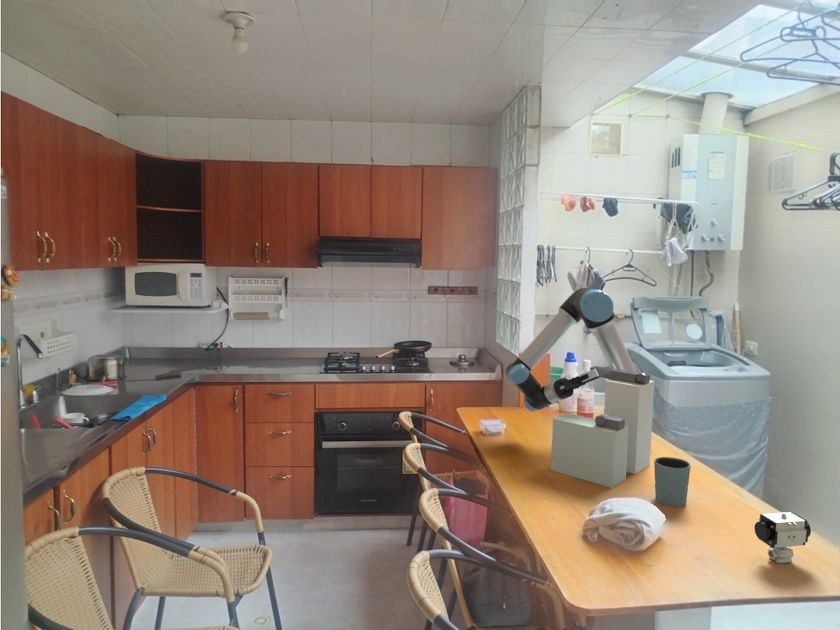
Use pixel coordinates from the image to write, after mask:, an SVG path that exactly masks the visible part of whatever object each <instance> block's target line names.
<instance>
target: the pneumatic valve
mask: <svg viewBox="0 0 840 630" xmlns="http://www.w3.org/2000/svg"><path fill="white" fill-rule="evenodd" d="M754 533H755V535H756V537H757V538H758V540H760V541H761V542H763V543H764V544H766V545H767V546H769V549H768V550H767V556H768V557H769V558H770V560H773V561H775V562H776V563H777V564H790V563H792V561H793V559H792V558H793V557H794V550H793V549H792V547H798V546H799V547H800V546H806V543H808V541H809V537H810V536H811V533H812V530H811V526H810V524H809V522H808V520H807V519H805V518H803V517H801V516H800V515H799V514H797V513H795V512H777V513H762V514H759V519H758V521H757V522H755V524H754Z"/></svg>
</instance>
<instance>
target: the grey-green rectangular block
mask: <svg viewBox="0 0 840 630" xmlns="http://www.w3.org/2000/svg"><path fill="white" fill-rule="evenodd" d="M628 427H629V426H625V419H623V418H618V417H613V416H611V415H609V414H604V413H602V414H601V413H600V414H598V415H596V416H595V418H593V417H588V416H584V415H579V414H574V413H570V412H566V413H564V414H562V415H558V416H555V417H553V418H552V432H551V433H552V434H551V436H552V437H551V459H550V461H551V462H550V465H551V466H550V470H551V471H553V472H557V473H561V474H563V475H566V476H570V477H573V478H577V479H579V480H584V481H587V482H591V483H593V484H597V485H600V486H603V487H607V488H611V489H613V488H614V487H616V486H618V485H620V484H621V483H623V482H624V481H626V480H627V472H626V468H627V447H628Z"/></svg>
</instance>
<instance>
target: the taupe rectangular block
mask: <svg viewBox="0 0 840 630" xmlns="http://www.w3.org/2000/svg"><path fill="white" fill-rule="evenodd" d="M604 383H605V386H604V387H605V388H604V408H603V409H604V410H603V414H609V415H611V416H613V417H618V418H623V419H625V426H629V427H628V447H627V468H626V473H629V474H634V475H636V474H637V473H639V472H642V470H644V469H646V468H647V467H649V466H651V450H652V449H651V448H652V430H653V413H654V412H653V397H654V393H655V381H654V380H650V383H648V384H645V385H643V384H637V383H631V382H625V381H619V380H613V379H610V380H609V379H607V380H605V382H604Z"/></svg>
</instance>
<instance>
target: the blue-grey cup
mask: <svg viewBox="0 0 840 630" xmlns="http://www.w3.org/2000/svg"><path fill="white" fill-rule="evenodd" d="M653 462H654V463H653V464H654V482H655V483H654V488H655V490H654V491H655V501H656V502H657V503H659V504H661V505H664V506H666V507H670V508H682V507H685V506H686V504H687V501H688V500H687V497H688V490H689V482H690V473H691V467H692V466H691V463H690V462H689V461H687V460H684V459H682V458H676V457H671V456H669V457H668V456H661V457H660V456H659V457H657V458H655V459H654V460H653Z"/></svg>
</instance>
